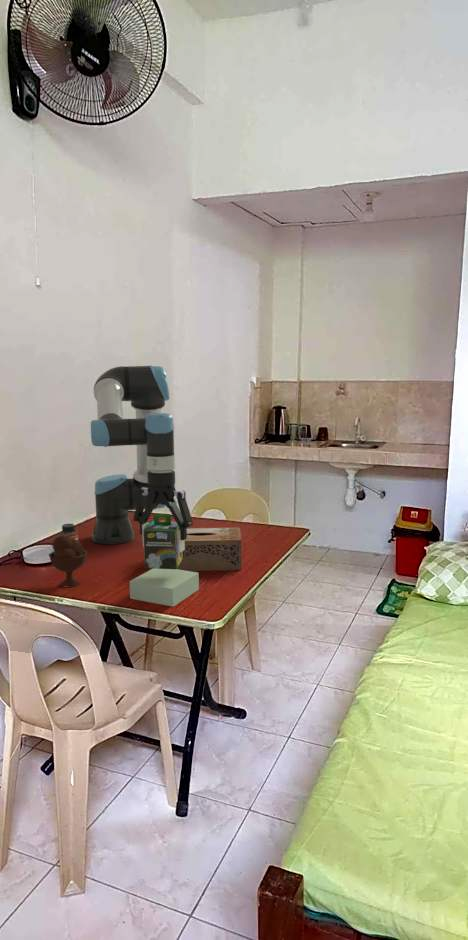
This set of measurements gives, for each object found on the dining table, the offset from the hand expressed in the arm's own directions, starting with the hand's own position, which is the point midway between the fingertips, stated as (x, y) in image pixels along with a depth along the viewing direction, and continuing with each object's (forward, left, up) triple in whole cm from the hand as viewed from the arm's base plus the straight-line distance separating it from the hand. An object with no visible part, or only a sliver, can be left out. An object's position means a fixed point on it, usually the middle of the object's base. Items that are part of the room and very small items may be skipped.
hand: (163, 548), depth 176 cm
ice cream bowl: (-30, -5, -13) cm, 33 cm away
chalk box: (0, 0, -5) cm, 5 cm away
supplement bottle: (-47, +15, -14) cm, 51 cm away
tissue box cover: (-4, +28, -14) cm, 31 cm away
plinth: (0, 0, -13) cm, 13 cm away
